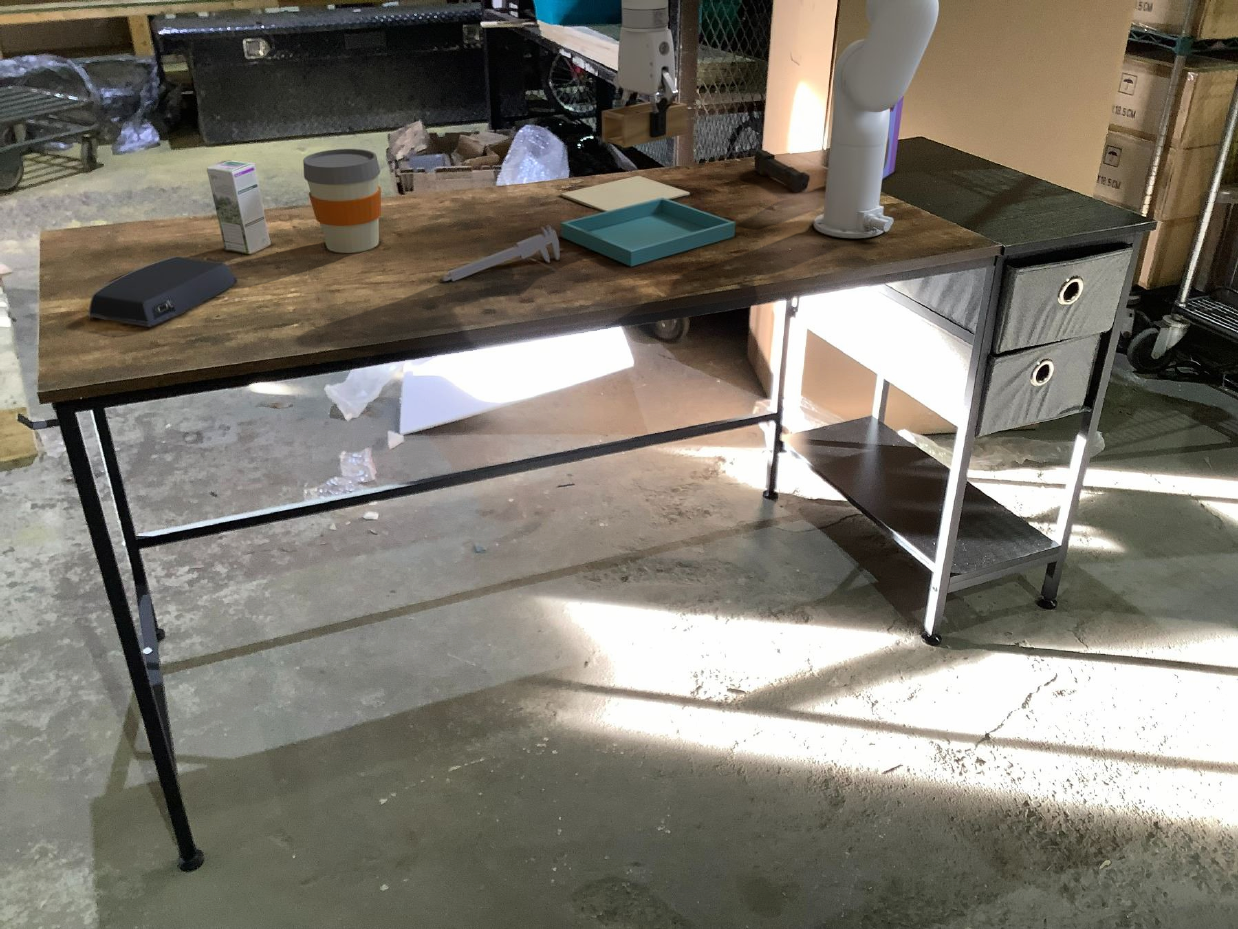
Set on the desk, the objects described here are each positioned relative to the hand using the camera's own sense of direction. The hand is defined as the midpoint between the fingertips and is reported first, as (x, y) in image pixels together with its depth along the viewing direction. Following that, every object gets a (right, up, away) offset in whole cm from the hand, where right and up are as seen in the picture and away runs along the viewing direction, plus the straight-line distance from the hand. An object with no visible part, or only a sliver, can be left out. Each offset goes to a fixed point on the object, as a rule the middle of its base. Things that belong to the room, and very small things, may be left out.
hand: (644, 131), depth 175 cm
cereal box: (+47, +1, +35) cm, 59 cm away
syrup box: (-69, -20, +3) cm, 72 cm away
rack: (0, -1, 0) cm, 1 cm away
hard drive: (-74, -32, -18) cm, 83 cm away
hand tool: (+28, +1, +35) cm, 45 cm away
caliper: (-24, -26, -8) cm, 36 cm away
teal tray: (+1, -17, +6) cm, 18 cm away
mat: (-3, -4, +28) cm, 28 cm away
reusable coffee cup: (-51, -19, +4) cm, 55 cm away
